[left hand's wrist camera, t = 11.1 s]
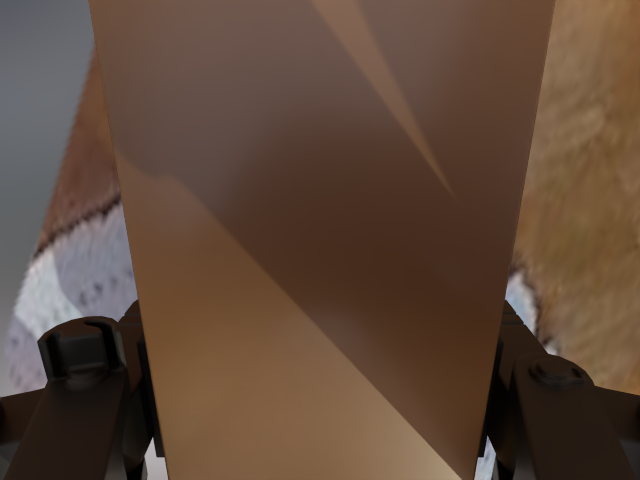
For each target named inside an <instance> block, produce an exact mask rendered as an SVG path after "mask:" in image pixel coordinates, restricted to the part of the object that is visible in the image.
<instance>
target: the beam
mask: <svg viewBox="0 0 640 480" xmlns="http://www.w3.org/2000/svg"><path fill="white" fill-rule="evenodd" d="M554 6H555V0H89V7H90V13H91V19H92V25H93V31H94V37H95V43H96V49H97V55H98V61H99V67H100V73H101V79H102V85H103V91H104V97H105V103H106V109H107V115H108V121H109V127H110V133H111V139H112V145H113V151H114V157H115V163H116V169H117V175H118V181H119V187H120V193H121V199H122V205H123V211H124V217H125V223H126V229H127V235H128V241H129V247H130V253H131V259H132V265H133V271H134V277H135V283H136V289H137V295H138V300H139V306H140V312H141V318H142V324H143V330H144V336H145V342H146V348H147V354H148V360H149V366H150V372H151V378H152V384H153V390H154V396H155V402H156V408H157V414H158V420H159V426H160V432H161V438H162V444H163V450H164V456H165V462H166V468H167V474H168V480H474V477H475V471H476V465H477V460H478V454H479V448H480V442H481V436H482V430H483V424H484V418H485V412H486V407H487V401H488V395H489V389H490V383H491V377H492V371H493V365H494V359H495V354H496V348H497V342H498V336H499V330H500V324H501V318H502V312H503V306H504V301H505V295H506V289H507V283H508V277H509V271H510V265H511V259H512V253H513V248H514V242H515V236H516V230H517V224H518V218H519V212H520V206H521V200H522V195H523V189H524V183H525V177H526V171H527V165H528V159H529V153H530V148H531V142H532V136H533V130H534V124H535V118H536V112H537V106H538V100H539V95H540V89H541V83H542V77H543V71H544V65H545V59H546V53H547V47H548V42H549V36H550V30H551V24H552V18H553V12H554Z"/></svg>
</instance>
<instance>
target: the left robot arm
mask: <svg viewBox="0 0 640 480" xmlns="http://www.w3.org/2000/svg"><path fill="white" fill-rule="evenodd" d="M37 343H38V347H39V350H40V354H41V358H42V361H43V365H44V369H45V372H46V376H47V380H48V382H47V384H46V386H45V388H43V389H39V390H35V391H30V392H25V393H20V394H15V395H11V396H6V397H1V398H0V480H147V475H148V474H147V468H146V462H145V457H144V456H145V453H146V451H147V449H148V447H149V444H150V442H151V440H152V438H153V439H154V445H155V451H156V456H157V457H165V456H164V450H163V444H162V438H161V432H160V426H159V420H158V414H157V408H156V402H155V396H154V390H153V384H152V378H151V372H150V366H149V360H148V354H147V348H146V342H145V336H144V330H143V324H142V318H141V312H140V306H139V300H136V301H135V302H133V304H132V305H131V306H130V307H129V309H128V310H127V311H126V313H125V315H124V316H123V317H122V318H121V319H120V320H119V322H116V321H115V320H114V319H112V318H108V317H103V316H90V317H83V318H78V319H73V320H70V321H67V322H65V323H62V324H60V325H57V326H55V327H54V328H52V329H50V330H49V331H47V332H46V333H44V334H43V335H42V337H41V338H40V339H39V340H38V341H37ZM487 435H488V437H489V439H490V441H491V444H492V446H493V448H494V450H495V453H496V457H495V462H494V467H493V472H492V478H491V480H640V396H639V395H634V394H629V393H625V392H620V391H615V390H610V389H605V388H601V387H597V386H595V385H594V383H593V381H592V379H591V378H590V377H589V375H588V374H587V373H586V371H584V370H583V369H582V368H580V367H579V366H578V365H576V364H575V363H573V362H571V361H569V360H566V359H564V358H562V357H560V356H555V355H551V354H548V353H547V352H546V350H545V349H544V348H543V347H542V345H541V344H540V343H539V341H538V340H537V339H536V338H535V336H534V335H533V334H532V332H531V331H530V330H529V329H528V327H527V326H526V325H524V322H523V321H522V320H521V318H520V317H519V316H518V315H516V312H515V310H514V309H513V308H512V307H511V305H510V304H509V303H508V301H507V300H505V301H504V306H503V312H502V318H501V324H500V330H499V336H498V342H497V348H496V354H495V359H494V365H493V371H492V377H491V383H490V389H489V395H488V401H487V407H486V412H485V418H484V424H483V430H482V436H481V442H480V448H479V454H478V457H484V452H485V447H486V441H487Z"/></svg>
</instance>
